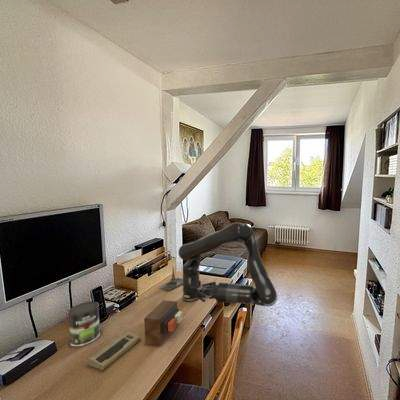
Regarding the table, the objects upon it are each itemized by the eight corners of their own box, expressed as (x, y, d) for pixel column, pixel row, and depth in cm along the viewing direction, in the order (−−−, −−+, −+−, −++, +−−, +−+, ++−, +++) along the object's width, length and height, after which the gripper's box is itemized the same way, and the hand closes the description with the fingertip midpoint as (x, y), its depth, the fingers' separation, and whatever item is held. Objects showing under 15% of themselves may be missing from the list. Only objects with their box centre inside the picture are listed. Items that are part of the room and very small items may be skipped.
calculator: (108, 293, 127) (124, 297, 121) (108, 300, 128) (125, 305, 122) (86, 302, 118) (103, 308, 111) (87, 310, 118) (103, 316, 112)
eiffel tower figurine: (169, 291, 138) (169, 271, 136) (158, 287, 142) (158, 267, 141) (187, 281, 151) (187, 262, 150) (177, 278, 155) (177, 260, 154)
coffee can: (102, 337, 97) (101, 307, 96) (71, 350, 90) (69, 318, 88) (97, 326, 104) (96, 298, 103) (68, 338, 97) (66, 307, 95)
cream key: (174, 323, 100) (174, 315, 99) (178, 318, 103) (178, 311, 103) (178, 323, 100) (178, 316, 99) (182, 318, 103) (182, 311, 103)
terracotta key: (167, 331, 94) (167, 323, 94) (172, 325, 98) (172, 318, 98) (172, 331, 94) (172, 323, 94) (176, 326, 98) (176, 318, 97)
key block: (145, 344, 94) (144, 318, 92) (164, 323, 107) (163, 300, 106) (164, 346, 92) (163, 320, 91) (181, 325, 106) (180, 301, 105)
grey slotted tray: (103, 371, 80) (103, 363, 80) (87, 365, 83) (87, 357, 82) (139, 341, 95) (139, 334, 95) (125, 337, 98) (125, 330, 97)
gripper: (233, 277, 97) (196, 274, 99) (224, 292, 84) (181, 288, 86) (233, 293, 98) (196, 290, 100) (224, 310, 85) (182, 306, 87)
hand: (189, 289), depth 93 cm, fingers closed
